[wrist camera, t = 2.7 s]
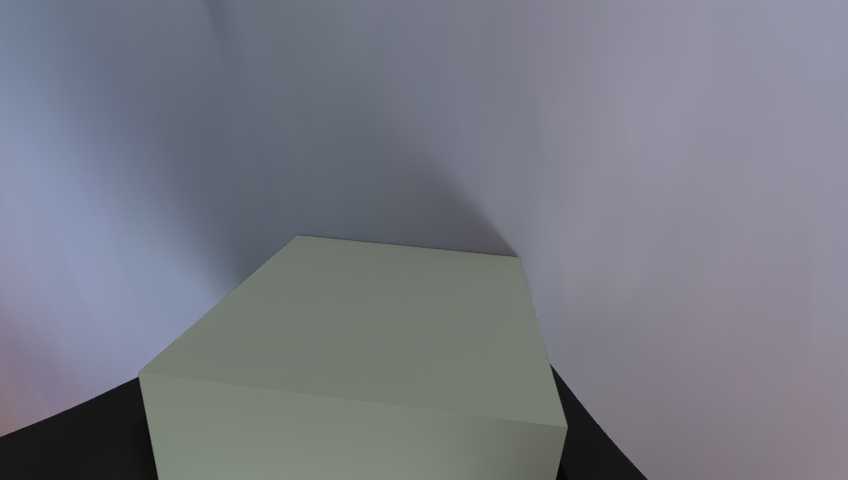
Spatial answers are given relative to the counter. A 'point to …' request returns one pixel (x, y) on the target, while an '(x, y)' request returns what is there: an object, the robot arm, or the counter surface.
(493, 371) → the green block
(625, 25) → the counter surface
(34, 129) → the counter surface
